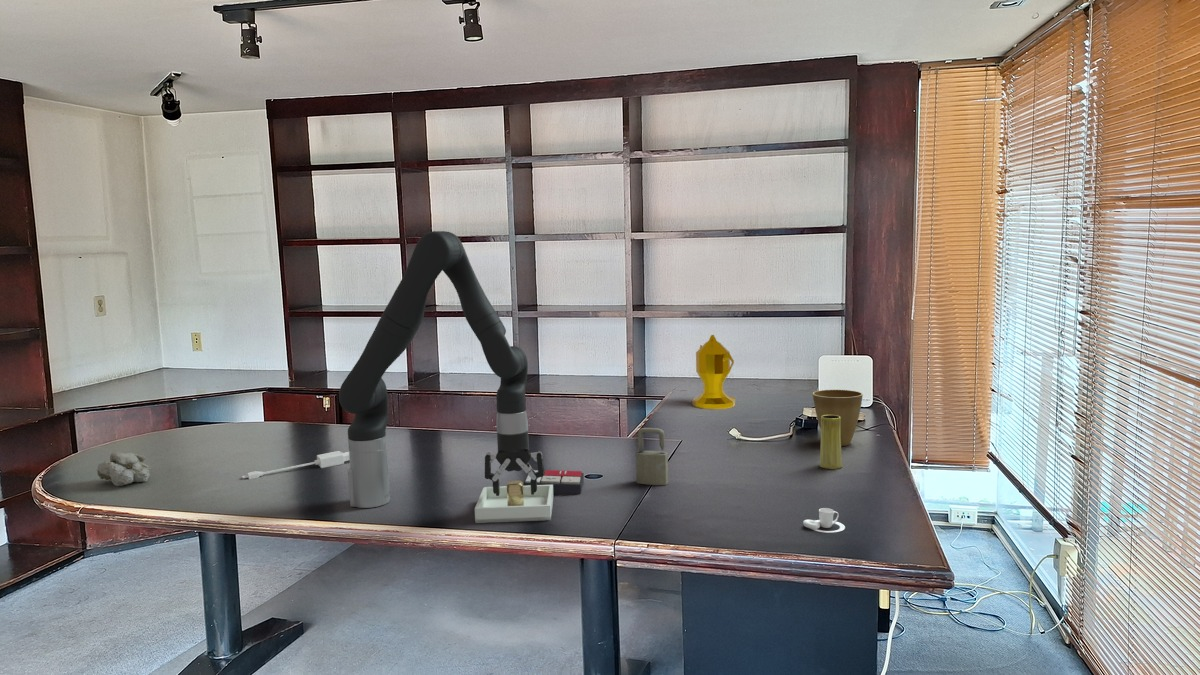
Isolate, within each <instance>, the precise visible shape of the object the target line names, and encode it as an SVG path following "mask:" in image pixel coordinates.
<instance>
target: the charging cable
mask: <svg viewBox="0 0 1200 675" xmlns="http://www.w3.org/2000/svg"><path fill="white" fill-rule="evenodd" d="M347 461H350V457H349V451H346V452H342V451H340V450H337V451H336V450H335V451H332V452H326V453H322V454H317V455H316V459H315V460H313V461H312V462H308V463H302V464H297V465H291V466H288V467H283V468H278V469H273V470H268V471H258V470H255V471H251V472H247V474H245V475H242V476H241V478H242V479H247V478H248V479H249V480H253V479H258V478H260V477H263V476H264V475H266V474H271V473H276V472H281V471H286V470H291V469H296V468H301V467H305V466H306V467H307V466H310V465H315V466H319V468H320V469H325V468H331V467H335V466H336V467H337V466H342V465H344V464H345V462H347ZM341 464H342V465H341Z"/></svg>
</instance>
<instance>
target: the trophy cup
mask: <svg viewBox="0 0 1200 675" xmlns="http://www.w3.org/2000/svg"><path fill="white" fill-rule="evenodd" d="M734 363H735V360H734V359H733V357H732V356H731V353H730V351H729V350H728V349H727V348H726V347H725V346H724V345H723V344H722V343H721V342H719V341H717V338H716V337H715V335H714V334H710V336H709V338H708V340H707V341H706V342H705V343H704V344H702V345H699V349H697V351H696V352H695V368H696V369H695V370H696V373H697V375H698V377H699V379H700V380H701V382H702V384H703V386H702V387H703V391H702V392H701V394H700V395H698V396H696V397H694V398H693V399H692V401H691V402H692V406H694V407H695V408H700V409H703V410H726V409H730V408H733V407H735V405H736V397H735V396H734V397H733V396H729V395H727V393H726V392H725V391H724V383H725V381H726V379H727V377H728V375H729V374H730V373H731V370H732V367H733V366H734Z"/></svg>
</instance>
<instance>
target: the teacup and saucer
mask: <svg viewBox="0 0 1200 675" xmlns="http://www.w3.org/2000/svg"><path fill="white" fill-rule="evenodd" d="M834 514H837V516H836V518H835V519H834ZM839 516H840V515H839V512H837V511H835V510H834V509H832V508H828V507H821V508H819V509H818V518H819V519H817V520H816V519H805V520H803V521H802V524H803V526H804V527H805V528H808V529H811V530H813V531H814V532H818V533H824V534H825V533H827V534H833V533H834V534H835V533H839V532H843V531H844V530H845V529H846V526H845V525H844V524H843V523H841V522H839V521H838V519H839ZM833 525H837V526H839V528H838V529H836V530H821V529H820V528H821V527H822V528H824V529H830V528H832V526H833Z"/></svg>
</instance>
